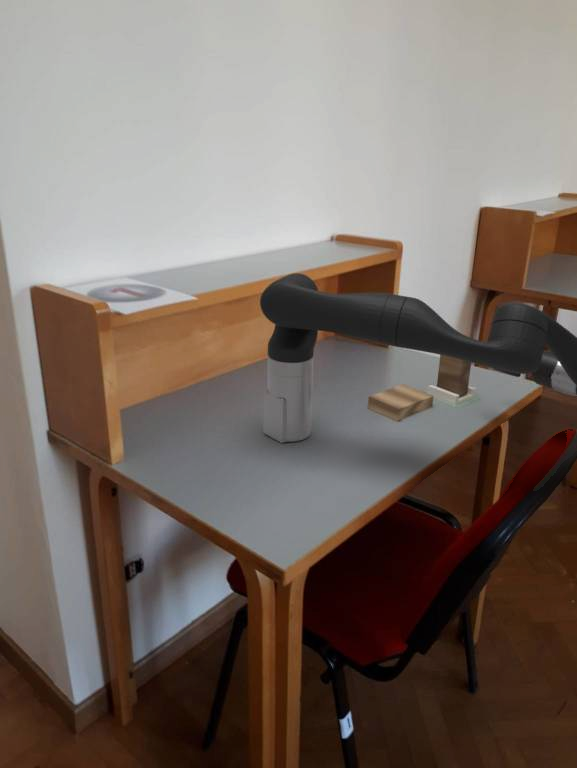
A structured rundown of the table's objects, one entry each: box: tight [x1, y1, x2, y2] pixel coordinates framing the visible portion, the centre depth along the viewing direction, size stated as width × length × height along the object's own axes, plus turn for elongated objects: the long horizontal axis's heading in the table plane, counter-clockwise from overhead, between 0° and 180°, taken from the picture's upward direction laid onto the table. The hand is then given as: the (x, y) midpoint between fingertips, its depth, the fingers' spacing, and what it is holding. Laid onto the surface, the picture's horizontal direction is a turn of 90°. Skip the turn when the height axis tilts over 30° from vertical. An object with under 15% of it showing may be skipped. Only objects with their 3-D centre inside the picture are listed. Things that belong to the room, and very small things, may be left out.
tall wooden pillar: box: [436, 355, 472, 398], centre depth 151 cm, size 4×6×11 cm, turn 41°
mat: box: [426, 391, 480, 408], centre depth 153 cm, size 9×10×1 cm
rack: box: [426, 384, 477, 406], centre depth 153 cm, size 8×8×2 cm
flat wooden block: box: [367, 383, 434, 422], centre depth 146 cm, size 12×9×3 cm
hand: (493, 351), depth 141 cm, fingers open, 8 cm apart
